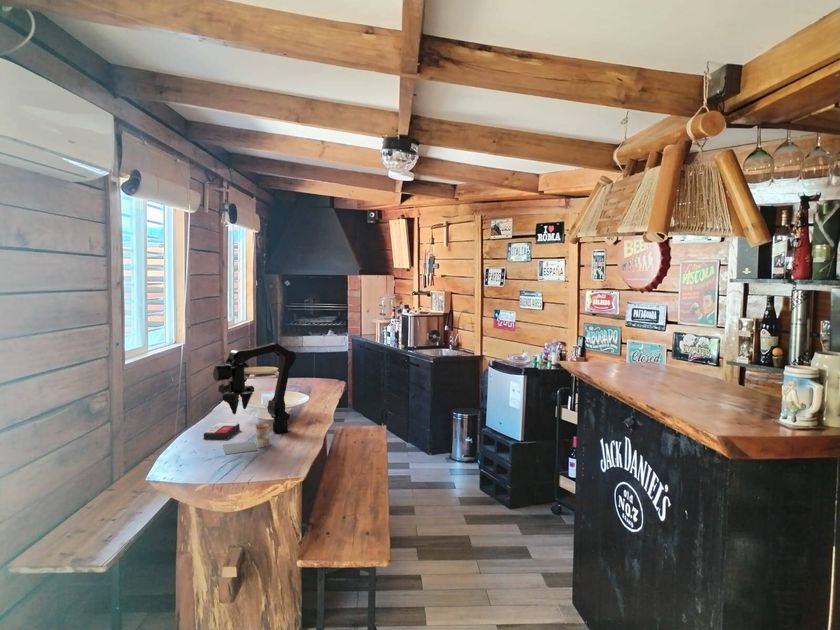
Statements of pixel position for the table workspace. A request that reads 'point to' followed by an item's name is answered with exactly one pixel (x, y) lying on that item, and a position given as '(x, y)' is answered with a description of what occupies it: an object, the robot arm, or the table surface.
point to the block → (262, 435)
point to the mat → (239, 447)
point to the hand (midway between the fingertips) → (239, 411)
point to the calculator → (222, 431)
